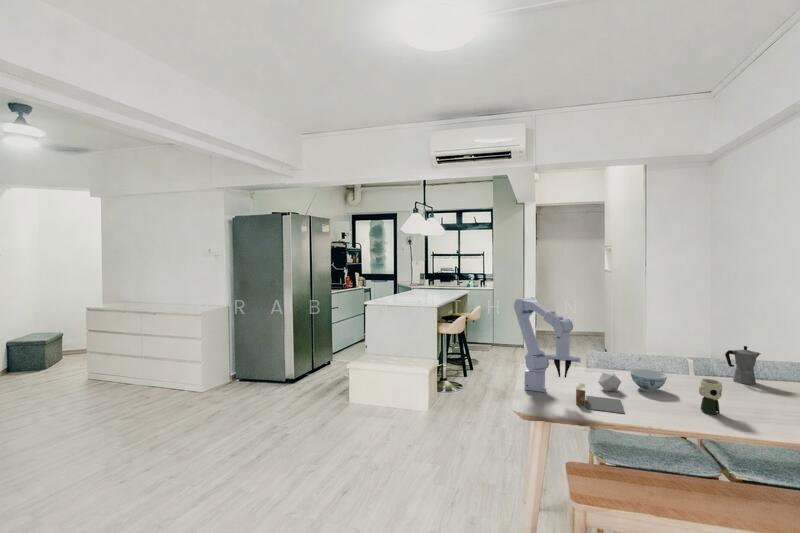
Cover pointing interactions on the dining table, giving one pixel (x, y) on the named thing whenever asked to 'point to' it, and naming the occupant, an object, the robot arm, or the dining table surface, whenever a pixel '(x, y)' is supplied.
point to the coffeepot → (743, 365)
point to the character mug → (710, 395)
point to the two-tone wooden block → (580, 394)
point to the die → (609, 381)
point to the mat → (604, 404)
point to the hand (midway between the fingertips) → (562, 376)
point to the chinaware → (648, 379)
